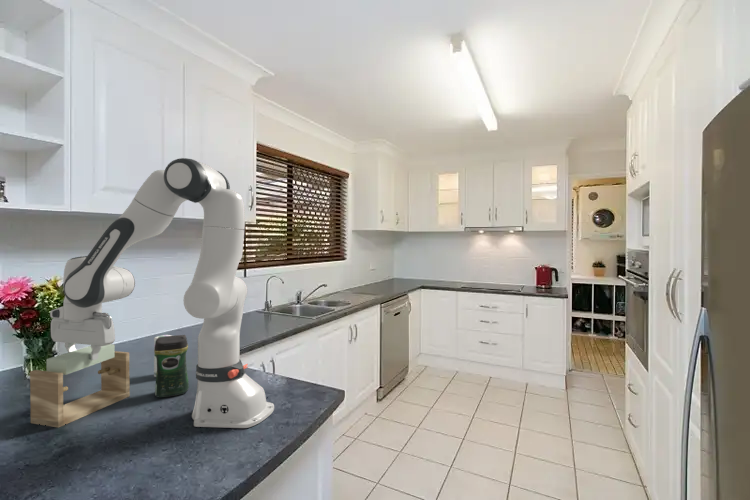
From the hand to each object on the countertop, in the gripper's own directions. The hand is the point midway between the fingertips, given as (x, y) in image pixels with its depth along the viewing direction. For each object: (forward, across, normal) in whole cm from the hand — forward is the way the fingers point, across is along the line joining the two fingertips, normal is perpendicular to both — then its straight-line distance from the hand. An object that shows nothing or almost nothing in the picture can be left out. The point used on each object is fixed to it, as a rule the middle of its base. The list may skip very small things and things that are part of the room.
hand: (83, 358), depth 108 cm
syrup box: (+15, -1, -29) cm, 33 cm away
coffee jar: (+15, -16, -16) cm, 27 cm away
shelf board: (+2, 0, 0) cm, 2 cm away
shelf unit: (+15, 0, 0) cm, 15 cm away
